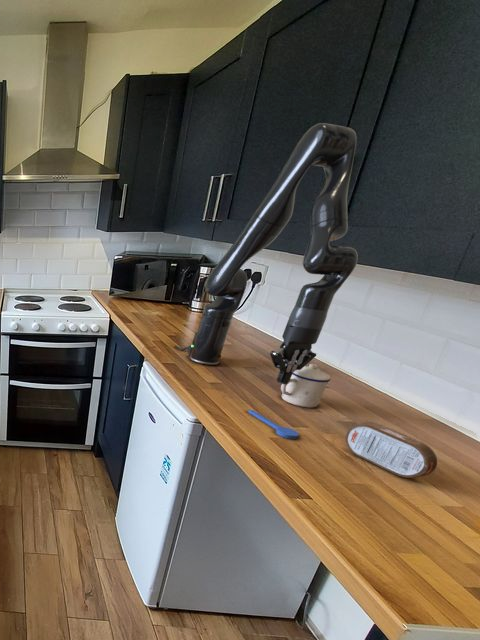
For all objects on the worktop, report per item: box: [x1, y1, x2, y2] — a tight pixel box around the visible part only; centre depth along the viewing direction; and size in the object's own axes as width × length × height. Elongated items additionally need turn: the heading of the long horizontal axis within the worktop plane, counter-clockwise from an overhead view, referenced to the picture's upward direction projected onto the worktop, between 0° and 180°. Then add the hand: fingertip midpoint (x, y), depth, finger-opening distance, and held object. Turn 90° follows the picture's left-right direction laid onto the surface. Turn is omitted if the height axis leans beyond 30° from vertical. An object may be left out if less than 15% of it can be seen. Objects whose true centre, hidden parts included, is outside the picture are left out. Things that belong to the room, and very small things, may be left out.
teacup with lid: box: [280, 363, 331, 409], centre depth 116 cm, size 12×9×12 cm
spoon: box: [247, 409, 299, 440], centre depth 104 cm, size 14×4×1 cm, turn 9°
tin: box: [345, 421, 438, 479], centre depth 87 cm, size 15×3×8 cm, turn 17°
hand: (281, 382), depth 114 cm, fingers closed
